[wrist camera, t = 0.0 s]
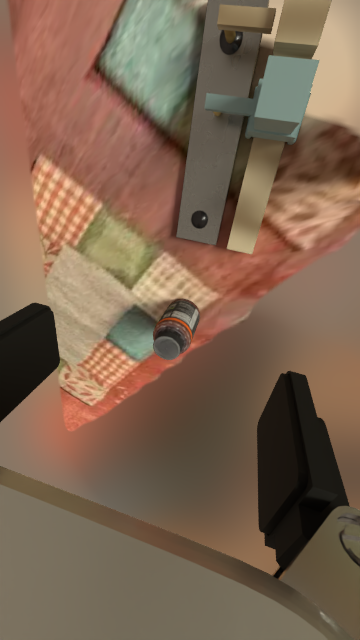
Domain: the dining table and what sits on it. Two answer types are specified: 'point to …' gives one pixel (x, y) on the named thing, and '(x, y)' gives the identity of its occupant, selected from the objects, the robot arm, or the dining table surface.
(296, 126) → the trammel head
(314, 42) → the trammel rail
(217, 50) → the flange plate
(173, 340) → the supplement bottle
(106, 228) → the dining table surface
